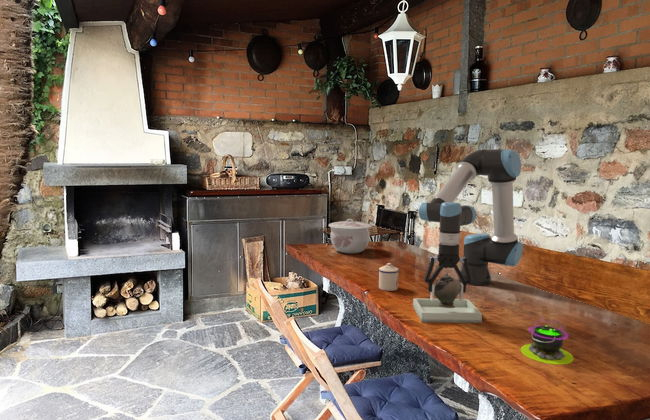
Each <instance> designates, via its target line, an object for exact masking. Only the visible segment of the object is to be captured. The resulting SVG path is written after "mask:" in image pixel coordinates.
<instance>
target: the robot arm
mask: <svg viewBox="0 0 650 420" xmlns="http://www.w3.org/2000/svg"><path fill="white" fill-rule="evenodd" d="M521 171H522V160H521V157H520V155H519V153H518V152H517V151H516V150H515V149H506V148H502V149H501V148H497V149H494V148H493V149H492V148H490V149H485V148H484V149H478V150H474V151H473V152H471V153H469V154H467V155H465V156H464V157H463V158H462V159H461V160H460V161H459V162H458V163H457V164H456V165H455V170H454V172H453V173H452V175H451V176H450V177H449V178H448V179H447V181H446V182H445V183H444V185H443V186H442V187H441V188H440V189H439V190H438V192H437V193H436V194H435V195H434V196H433V198H432V199H431V201H429V202H428V201H427V202H422V203H421V204H420V205H419V207H418V211H417V213H418V217H419V218H420V220H422V221H426V222H433V223H439V234H438V235H439V237H438V242H439V244H438V251H437V252H438V253H437V254H438V255H437V256H432V255H431V256H430V255H429V256H430V257H429V263H428V266H427V268H426V271H425V275H424V277H423V281H424V282H425V283H426V284H427V283H428V286H427V290H428V292H429V293H430V296H429V297H430V298H429V299H431V301H434V299H435V294H434V287H435V281H436V279H437V278H438V276H439V275H440V273H441V271H442V270H443V269H447V268H448V269H449V268H450V269H454V271H455V274H456V275H457V276H458V279H457V280H458V281H459V283H460V286H461V290H460V292H459V294H458V299H459V301H460V302H463V299H464V293H465V294H466V290H467V285H471V286H472V285H473V286H487V285H490V284H491V283H492V277H491V272H490V270H489V269H490V268H489V263H490V264H496V265H500V266H505V267H507V266H509V267H515V266H517V265H518V264H519V263H520V261H521V259H522V256H523V251H524V244H523V242H522V241H520V240H519V237H518V235H517V234H516V233H515V218H514V188H513V187H514V186H513V184H514V182H516V181H517V178H518V177H519V176H520V175H521ZM477 176H478V177H479V176H485V177H486V176H487V180H488V183H490V184H491V188H492V191H491V192H492V196H491V197H492V214H493V215H492V216H493V234H492V235H490V234H489V233H473V234H472V233H471V234H467V235H466V236H465V237H464V238H463V239H464V241H463V251H462V252H463V253H462V254H463V257H461V256H460V244H459V243H460V237H461V227H463V226H468V225H470V224H473V223H474V222H475V221H476V220H477V212H476V209H475V208H474V207H473V206H472V205H464V204H463V205H462V204H461V203H460V202H455V200H456V199H457V198H458V197H459V195H460V194H461V192H462V191H463V190H464V188H465V187H466V186H467V185H468V184H469V183H470V181H473V180H474V179H475V178H476V177H477ZM437 261H438V264H437V267H436V268H435V270H434V271H433V269H434V266H435V263H437ZM459 262H460V263H461V268H459V267H458V263H459ZM432 271H433V273H432Z"/></svg>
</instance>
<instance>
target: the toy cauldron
mask: <svg viewBox="0 0 650 420" xmlns="http://www.w3.org/2000/svg"><path fill="white" fill-rule="evenodd" d="M544 319H545V317H543V318H541V321H543V322H547V320H544ZM537 322H539V321H538V320H537V321H534V324H535V325H533V326H530V327H529V328H528V331H529V333H531V339H532V343H526V344H525V345H522V346H521V347H520V352H521V353H522V354H523V355H524V356H525V357H527V358H529V359H531V360H533V361H536V362H539V363H544V364H548V365H555V366H556V365H559V366H560V365H561V366H562V365H569V364H571V363H573V362H574V359H575V358H574V356H573V354H572V353H570V352H569V351H568V350H565V349H563V345H564V340H566V339H568V338H569V333H568V332H565V330H563V329H564V328H563V326H561V324H560V323H557V319H555V320H554V321H549V320H548V323H554V324H555V326H557V324H558V325H559V326H561V328H558V327H557V328H556V327H553V326H549V325H547V324H546V325H537ZM563 334H564V335H563Z"/></svg>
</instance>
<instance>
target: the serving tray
mask: <svg viewBox="0 0 650 420" xmlns="http://www.w3.org/2000/svg"><path fill="white" fill-rule="evenodd" d="M412 301H413V302H412V308H413V309H414V311H415V312H416V315H417V317H418V318H419V321H420V322H421V323H448V324H449V323H451V324H452V323H453V324H454V323H458V324H459V323H461V324H464V323H465V324H482V323H483V321H482V319H483V313H482V312H481V310H479V309H478V308H477V307H476V306H475V304H474V303H472V302H471V301H470V299H468V298H467V299H466V298H465V299H464V298H463V302H460V301H459V298H456V299H455V300H454V302H453V303H454V304H453V306H455V308H444V307H440V306H438V303H440V302H441V301H439V300H438V299H437V298H434V301H431V299H430V298H418V297H417V298H413V299H412Z"/></svg>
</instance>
